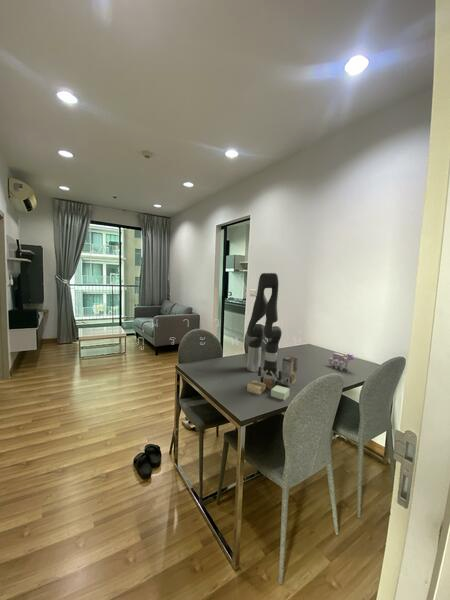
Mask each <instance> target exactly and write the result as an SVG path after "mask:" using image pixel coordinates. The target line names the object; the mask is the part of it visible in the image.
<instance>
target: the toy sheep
mask: <svg viewBox="0 0 450 600" xmlns="http://www.w3.org/2000/svg"><path fill="white" fill-rule="evenodd" d="M353 360H357V358H356V357H355V356H354V354H353V353H350V352H348V353H345V354H341V353H338V352H333V354H332V357H329V358H328V361H329V362H328V363H329V364H328V365H329V367H330V368H331V367H332V365H333V366H334V368H335V369H336V370H338V367H339V368H340V371H341V372H343V370H344V369H345V370H347V368H348V364H349V363H350V361H353ZM332 362H333V364H332ZM344 363H345V365H344ZM343 366H344V367H343ZM343 368H344V369H343Z"/></svg>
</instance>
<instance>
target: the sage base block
mask: <svg viewBox="0 0 450 600" xmlns="http://www.w3.org/2000/svg"><path fill="white" fill-rule="evenodd" d="M290 391H291V389H290V388H288V387H284V386H281V385H279V384H278V385H276V386H275V385H274V387H273V388H272V389H270V397H273V398H275V399H278V400H282V399H283V401H285V400H286V399H287V398H288V397H289V396H290V393H291V392H290Z"/></svg>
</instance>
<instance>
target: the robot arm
mask: <svg viewBox="0 0 450 600" xmlns="http://www.w3.org/2000/svg"><path fill="white" fill-rule="evenodd" d="M279 281H280V280H279V276H278V274H277V273H276V272H267V273H266V272H262V273H261V274H260V276H259V278H258V285H257V291H256V296H255V301H254V303H253V306H252V313H251V316H250V320H249V322H248V326H247V330H246V331H247V332H246V333H247V336H248V337H251V338H255V339H253V340H250V341H248V347H247V349H248V350H247V362H246V363H247V365H246V369H247V371H248V372H252V373H257V376H258V377H260V382H261V383H264V379H265V378H264V377H265V375H267V376H270V377H272V378H274V387H275V386H276V385H278V386H279V381H280V382H281V379H282V369H277V367H278V366H277V365H278V349H279V348H278V346H279V343H280V340H281V337H282V333H283V332H282V329H281V327H280V326H278V325H277V326H276V325H275V326H273V325H274V323H276V322H278V321H279V316H278V298H279ZM265 289H271V295H270V297H269V300H268V299H267V298H266V295H265ZM264 316H265V323H264V326H263V324H261V323H258V322H259V321H260V320H261V319H262V318H264ZM263 335H264V337H265V338H266V339H270V340H269V341H266V343H265V353H264V363H263V366H262V365H261V359H262V345H263V338H264V337H263ZM262 371H263V373H262Z"/></svg>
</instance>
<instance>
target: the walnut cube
mask: <svg viewBox="0 0 450 600" xmlns="http://www.w3.org/2000/svg"><path fill="white" fill-rule="evenodd" d="M263 383H264V384H266V388H265V389H270V390H271V389H273V388H274V387H275V378H274V377H271V376H270V377H269V376H266V377H265V378H264V382H263Z"/></svg>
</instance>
